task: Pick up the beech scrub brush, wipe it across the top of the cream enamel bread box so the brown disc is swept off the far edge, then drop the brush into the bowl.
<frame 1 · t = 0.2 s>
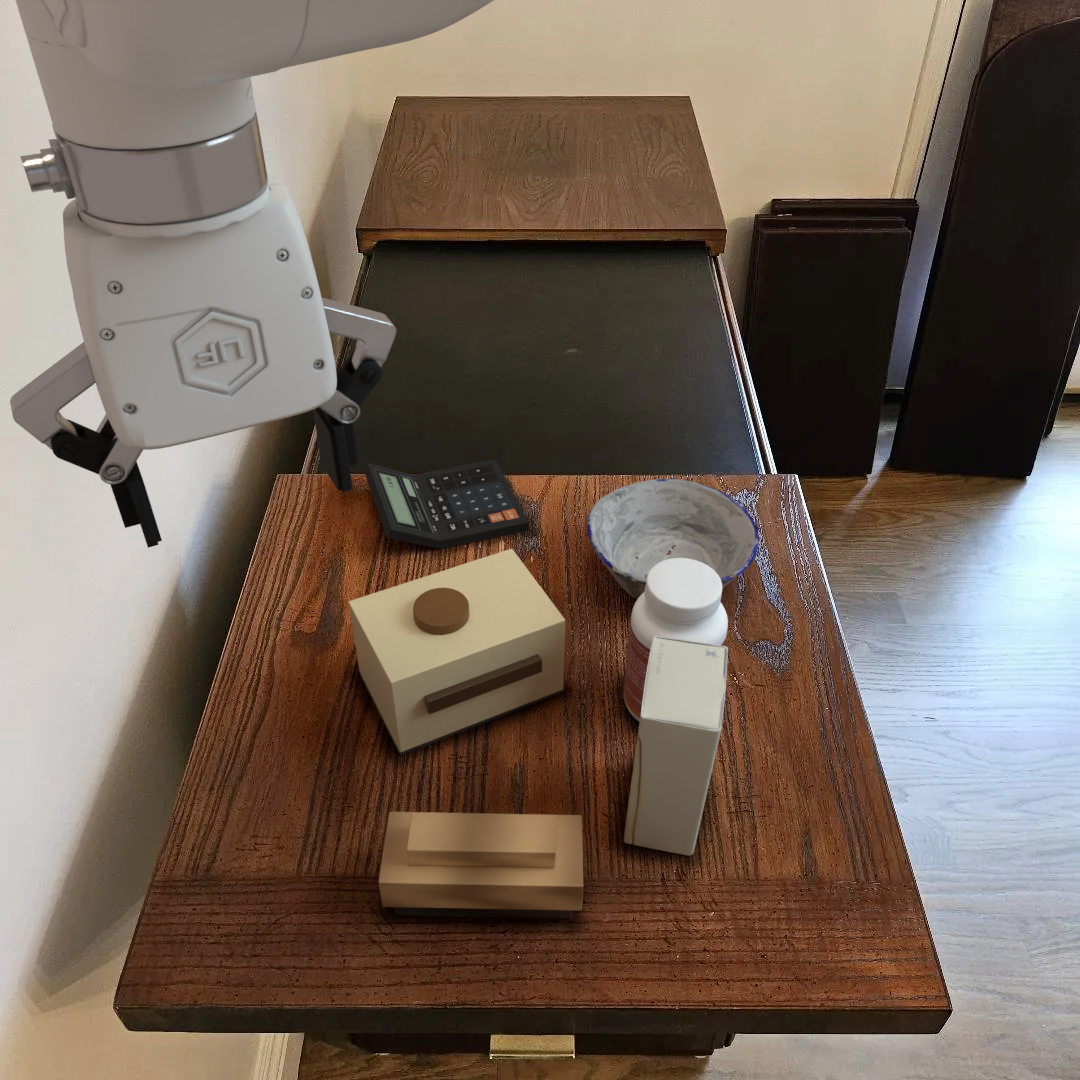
hand: (246, 502, 51), 21 cm above the table, tool pointing down, fingers open, 9 cm apart
brush: (485, 886, 58), on the table
calculator: (445, 512, 84), on the table
cosmetic box: (664, 812, 62), on the table
bowl: (667, 576, 78), on the table
brown disc: (441, 615, 65), point 7 cm above the table, touching bread box
bread box: (460, 682, 70), on the table
pill bottle: (667, 702, 69), on the table
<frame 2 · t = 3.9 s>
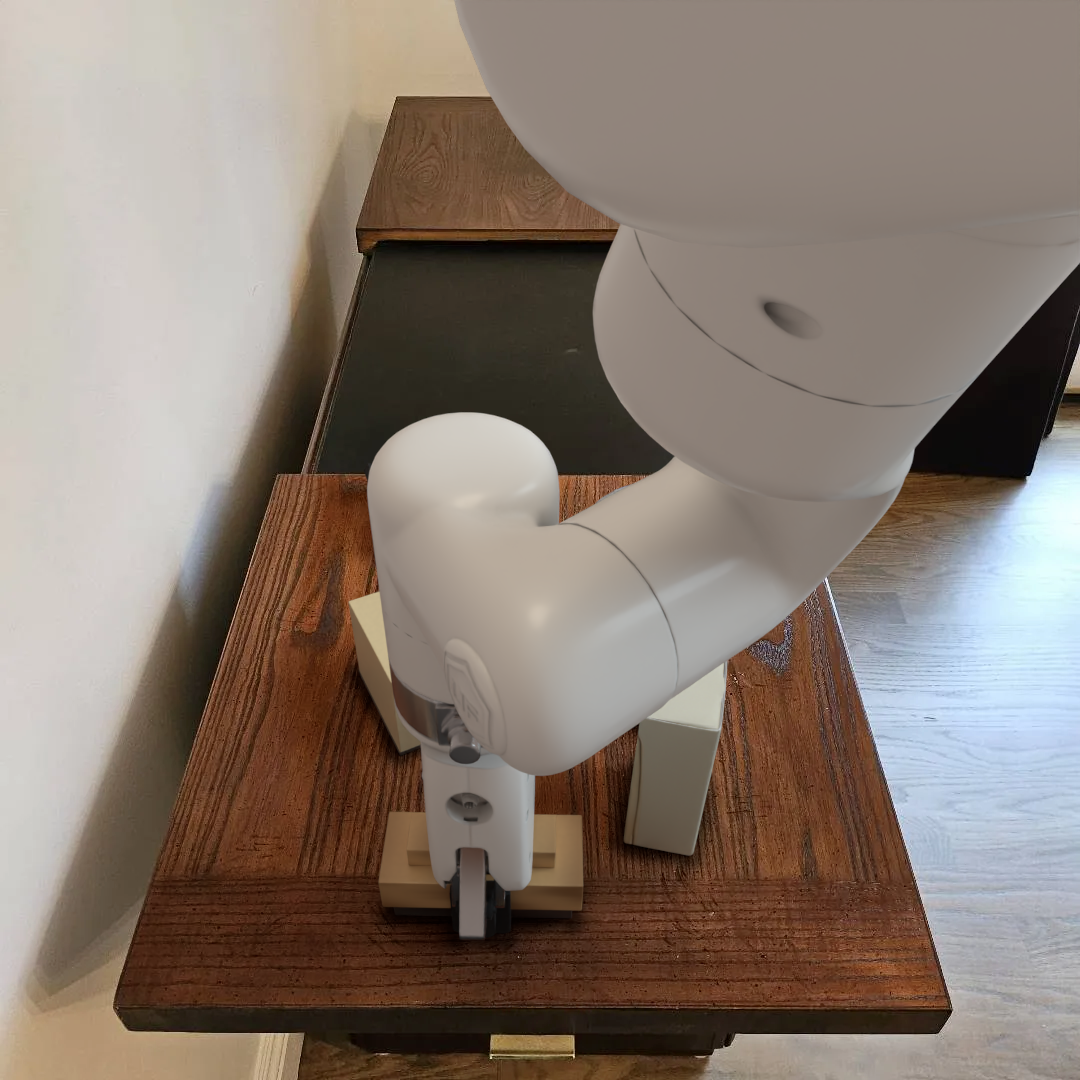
hand: (485, 883, 57), 0 cm above the table, tool pointing down, fingers closed on brush, 4 cm apart
brush: (485, 886, 58), on the table, touching gripper
everything else where it was.
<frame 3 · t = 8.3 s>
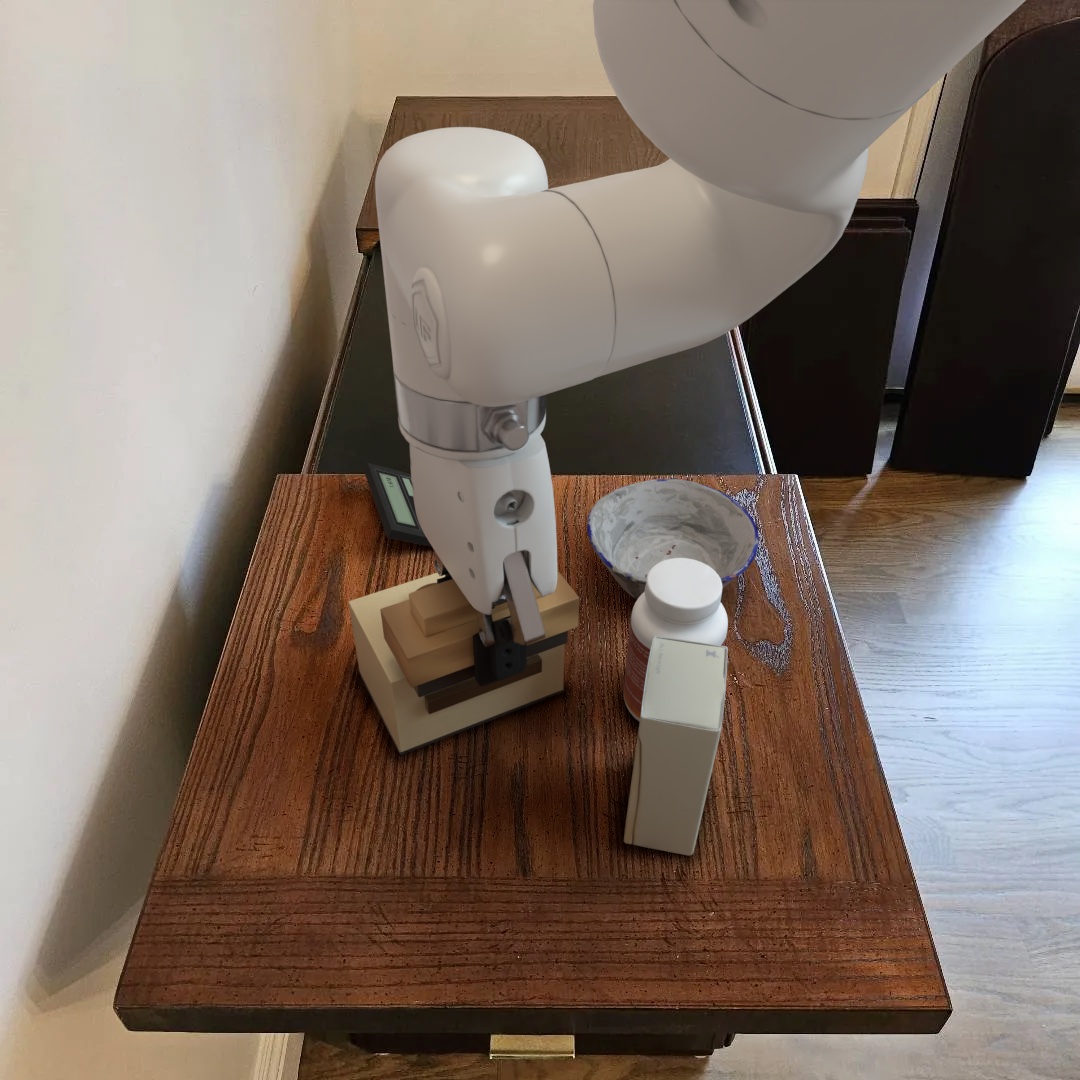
hand: (482, 645, 62), 8 cm above the table, tool pointing down, fingers closed on brush, 4 cm apart
brush: (482, 649, 62), point 7 cm above the table, touching gripper
brown disc: (438, 609, 65), point 7 cm above the table, touching bread box, gripper
everything else where it was.
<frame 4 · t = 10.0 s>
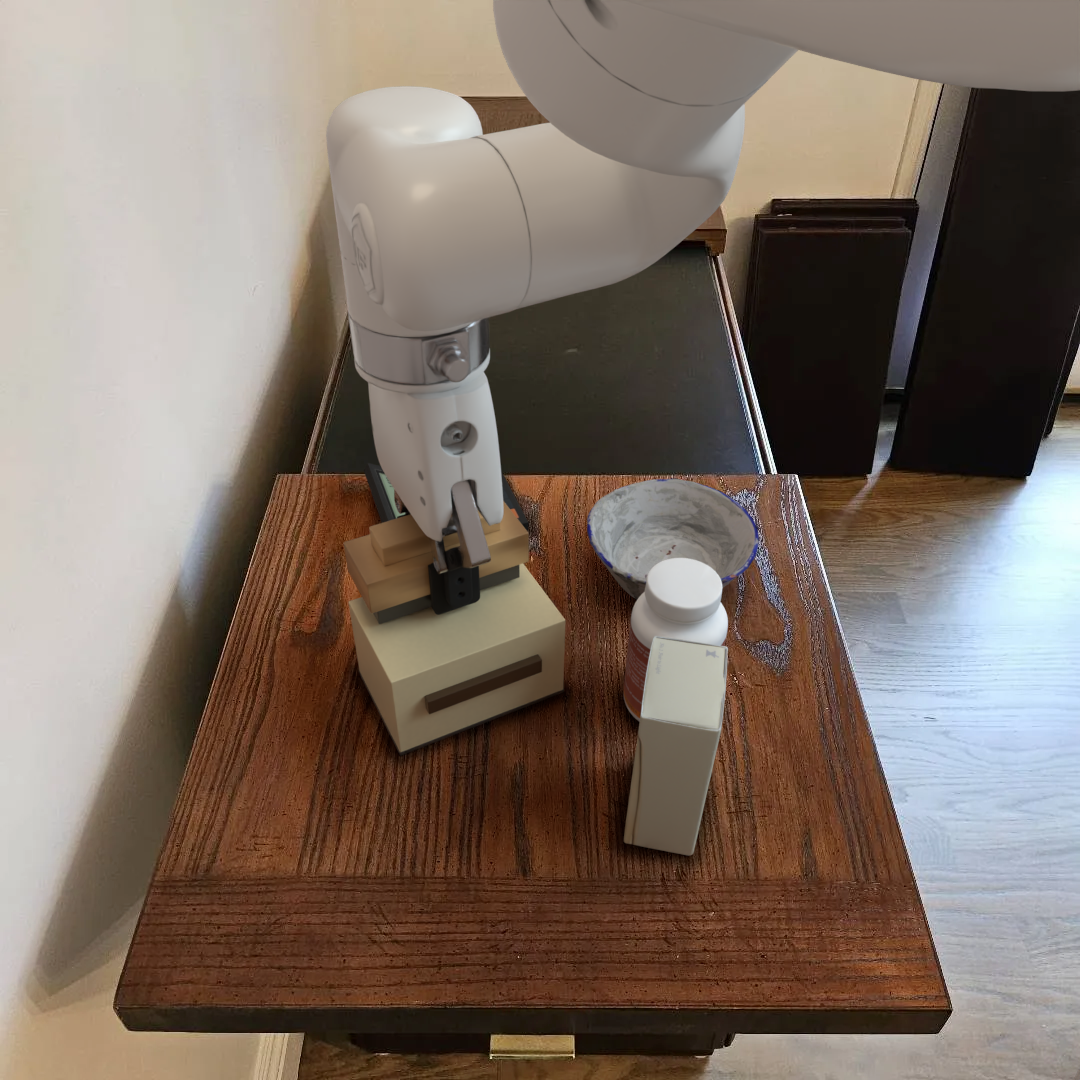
hand: (440, 578, 66), 8 cm above the table, tool pointing down, fingers closed on brush, 4 cm apart
brush: (440, 583, 67), point 7 cm above the table, touching gripper
brown disc: (400, 600, 75), point 1 cm above the table, tilted 180°
everything else where it was.
when the fingers open (5 cm above the table, at t = 16.6 s): brush stays where it is, resting on bowl.
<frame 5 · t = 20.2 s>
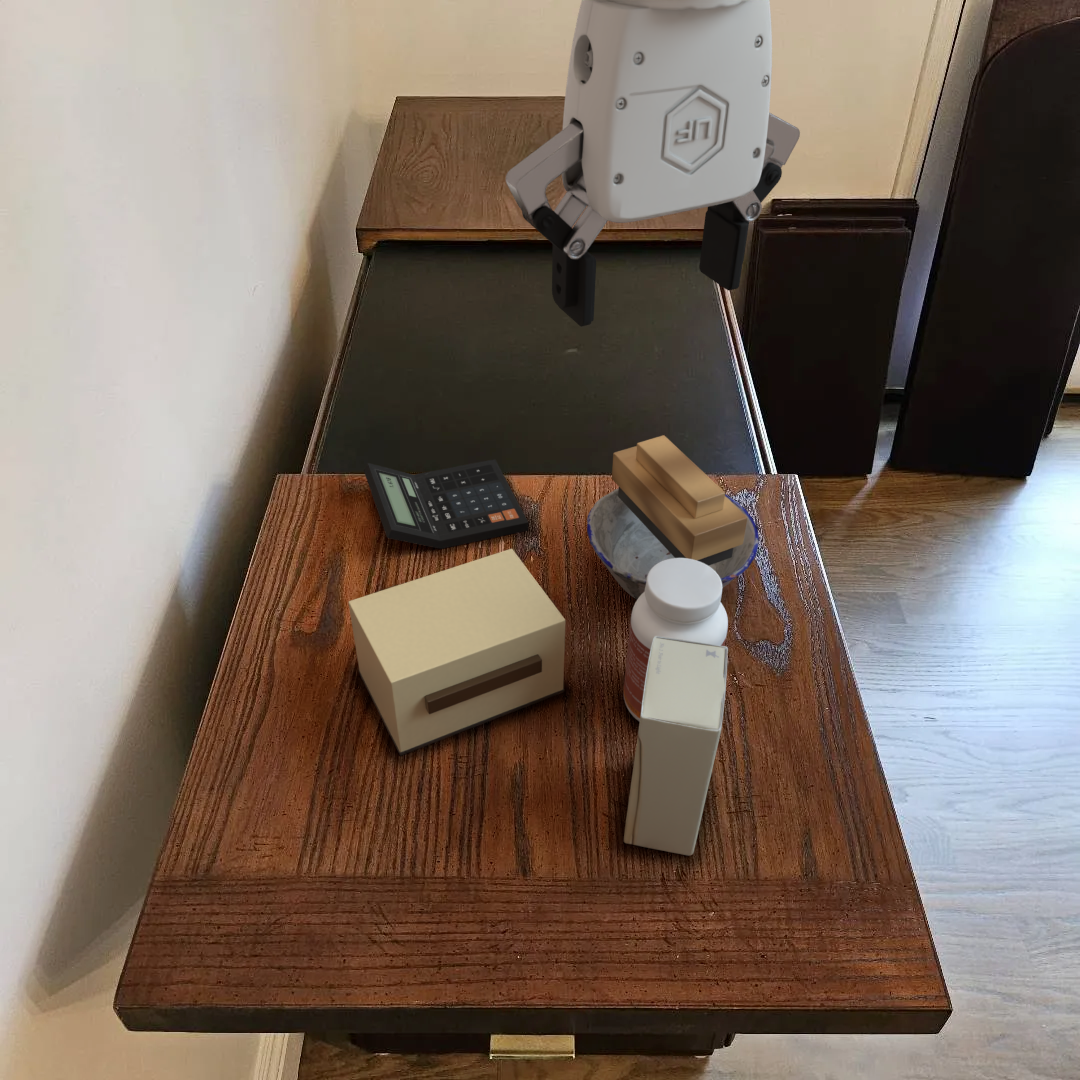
hand: (648, 297, 57), 26 cm above the table, tool pointing down, fingers open, 9 cm apart
brush: (672, 526, 75), point 5 cm above the table, touching bowl
bowl: (667, 576, 78), on the table, touching brush
everything else where it was.
at the end: brown disc point 0.8 cm above the table; brown disc inside the target area (1.6 cm from its centre), point 0.8 cm above the table; brush 0.1 cm from the bowl (horizontally) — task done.
